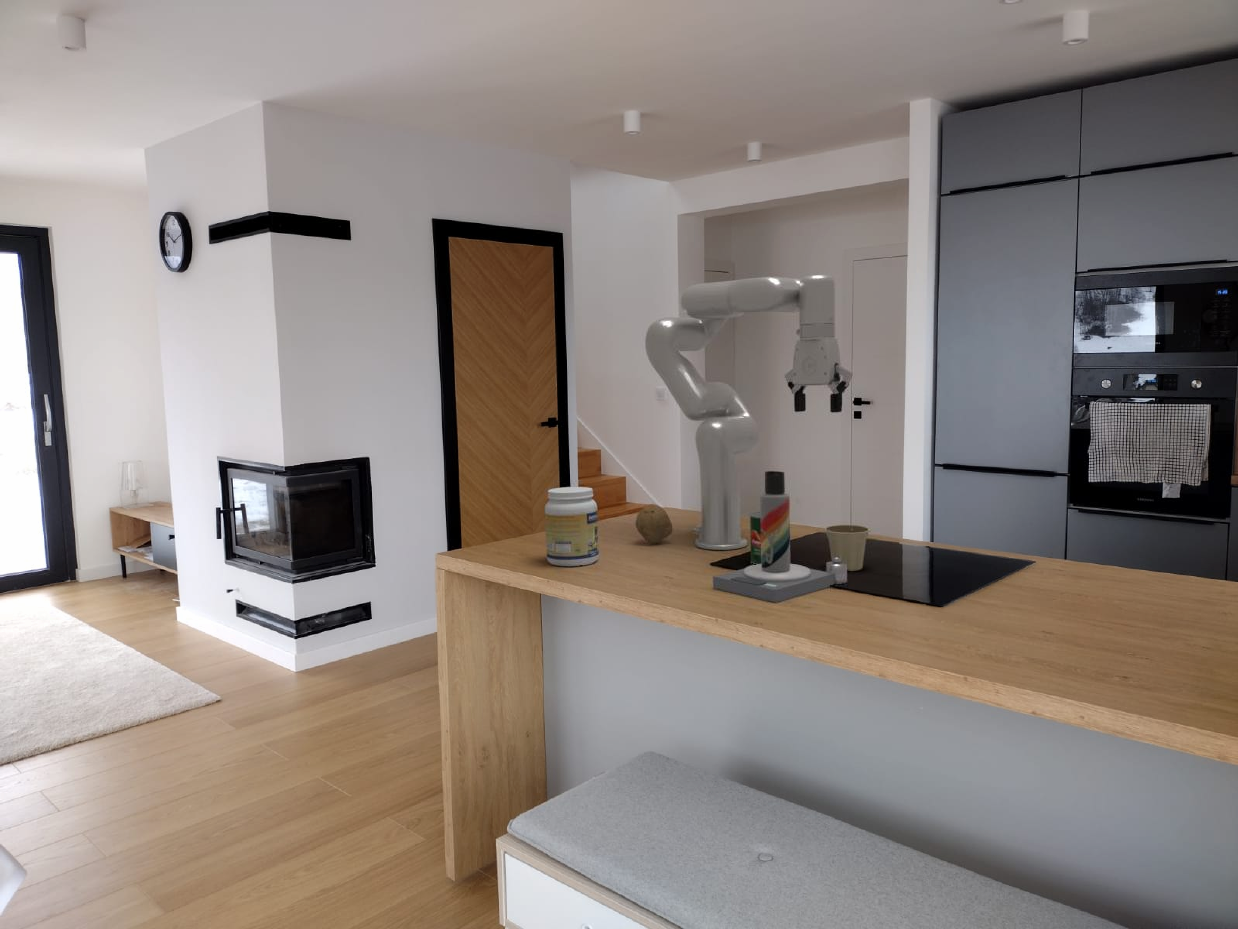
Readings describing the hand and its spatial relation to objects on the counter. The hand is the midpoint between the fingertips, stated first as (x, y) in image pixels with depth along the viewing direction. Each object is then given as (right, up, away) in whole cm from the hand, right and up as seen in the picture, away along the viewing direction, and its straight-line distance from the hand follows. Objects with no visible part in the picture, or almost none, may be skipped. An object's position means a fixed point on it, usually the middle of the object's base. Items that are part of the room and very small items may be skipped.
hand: (817, 411), depth 194 cm
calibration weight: (0, -35, -17) cm, 39 cm away
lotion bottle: (-12, -33, -18) cm, 39 cm away
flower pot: (+5, -34, -5) cm, 35 cm away
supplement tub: (-54, -34, +11) cm, 65 cm away
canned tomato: (-10, -34, +3) cm, 35 cm away
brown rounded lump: (-35, -32, +29) cm, 56 cm away
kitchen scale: (-13, -36, -18) cm, 42 cm away
